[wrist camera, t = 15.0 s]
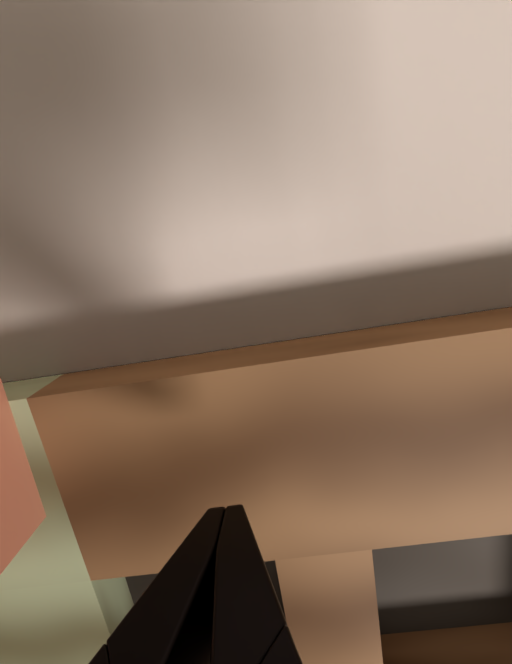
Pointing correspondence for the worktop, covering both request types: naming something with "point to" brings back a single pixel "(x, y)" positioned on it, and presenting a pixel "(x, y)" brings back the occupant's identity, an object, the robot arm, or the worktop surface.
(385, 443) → the board
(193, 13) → the worktop surface
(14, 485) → the coral block
